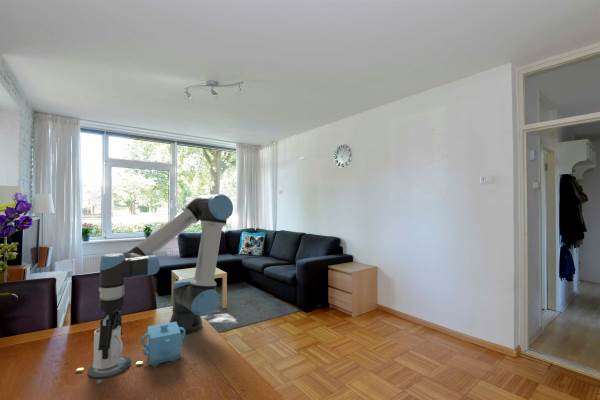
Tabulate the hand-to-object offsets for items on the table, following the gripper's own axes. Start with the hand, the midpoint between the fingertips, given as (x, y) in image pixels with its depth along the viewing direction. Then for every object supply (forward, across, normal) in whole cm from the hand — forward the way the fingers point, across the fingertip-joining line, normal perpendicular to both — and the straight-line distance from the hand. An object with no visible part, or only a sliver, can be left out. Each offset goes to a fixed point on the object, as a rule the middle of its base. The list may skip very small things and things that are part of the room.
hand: (110, 360), depth 106 cm
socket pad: (+3, +2, 0) cm, 3 cm away
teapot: (+3, 0, +18) cm, 18 cm away
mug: (+1, +1, 0) cm, 1 cm away
